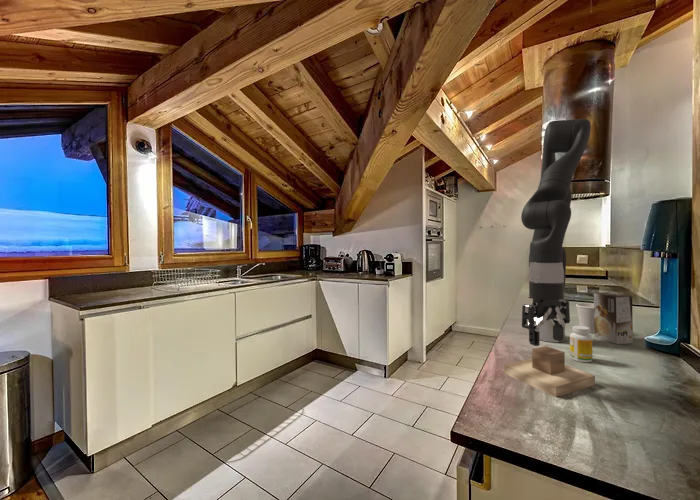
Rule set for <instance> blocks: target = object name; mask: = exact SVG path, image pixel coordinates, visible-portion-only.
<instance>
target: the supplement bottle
mask: <svg viewBox="0 0 700 500" xmlns="http://www.w3.org/2000/svg"><path fill="white" fill-rule="evenodd" d="M589 332H590V329H589V328H588V327H585V326H580V325H573V326H572V332H571V333H570V334H569V358H570V359H571V360H572V361H575V362H580V363H591V362H592V361H593V337H592V335H590V333H589Z"/></svg>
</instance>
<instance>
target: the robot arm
mask: <svg viewBox="0 0 700 500" xmlns="http://www.w3.org/2000/svg"><path fill="white" fill-rule="evenodd" d="M591 126H592V125H591V122H590V120H589V119H587V118H576V119H575V118H572V119H558V120H552V121H549V122H548V124H547V125H546V128H545V131H544V136H543V148H542V164H541V177H540V181H539V184H538V187H537V190H536V191H535V192H534V193H533V195H532V196H531V197H530V198H529V199H528V201H527V202H526V203H525V205H524V207H523V209H522V212H521V216H520V217H521V223H522V225H523V226H524V228H527V229H528V230H533V235H532V240H531V241H530V245H529V254H528V266H529V268H528V296H529V297H530V298H531V299H532V304H526V303H523V304H522V310H521V312H522V314H521V327H522V328H524V329H527V330H528V341H529V344H530V345H531V346H535V347H539V346H540V344H541V343H540V341H544V342H549V343H562V342H566V324H569V323H570V322H571V317H570V315H571V314H570V313H571V312H570V302H569V300H566V298H565V296H566V295H565V293H566V292H565V291H566V290H565V289H566V271H567V254H566V250H565V248H564V246H563V245H564V240H565V236H566V233H567V229H568V226H569V224H570V221H571V218H572V208H571V203H572V199H573V198H572V196H573V194H572V190H571V184H572V181H573V177H574V175H575V172H576V170H577V168H578V166H579V164H580V162H581V160H582V157H583V155H584V153H585V151H586V148H587V146H588V144H589V140H590V135H591V130H592V129H591V128H592V127H591ZM557 153H558V154H562V153H565V154H564V155H562V156H561V157H560V158H558V159H557V160H556V154H557Z"/></svg>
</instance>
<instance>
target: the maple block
mask: <svg viewBox="0 0 700 500" xmlns="http://www.w3.org/2000/svg"><path fill="white" fill-rule="evenodd" d="M504 374H505V375H506V376H510V377H511V378H513V379H516V380H517V381H520V382H523V383H524V384H526V385H528V386H531V387H533V388H535V389H537V390H539V391H541V392H543V393H546V394H548V395H551V396H553V397H555V398H557V397H558V398H559V397H561V396H563V395H568V394H572V393H573V392H577V391H581V390H584V389H588V388H590V387H593V386H596V375H594V374H591V373H589V372H586V371H582V370H580V369H577V368H576V367H575V368H574V367H571V366H568V365H566V364H565V372H562V373H557V374H553V375H549V374H547V373H544V372H542V371H539V370H537V369H534V368H532V358H528V359H523V360H520V361H515V362H510V363H506V364H504Z"/></svg>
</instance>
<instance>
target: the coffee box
mask: <svg viewBox="0 0 700 500" xmlns="http://www.w3.org/2000/svg"><path fill="white" fill-rule="evenodd" d="M593 304H594V333H593V334H594V337H595V338H598V339H601V340H604V341H607V342H610V343H613V344H615V345H623V344H625V345H626V344H633V343H634V340H633V339H634V338H633V336H634V333H633V332H634V331H633V329H634V326H633V325H634V324H633V322H634V320H633V296H632V295H627V294H621V293H617V292H607V291H605V292H604V291H603V292H593Z"/></svg>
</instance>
